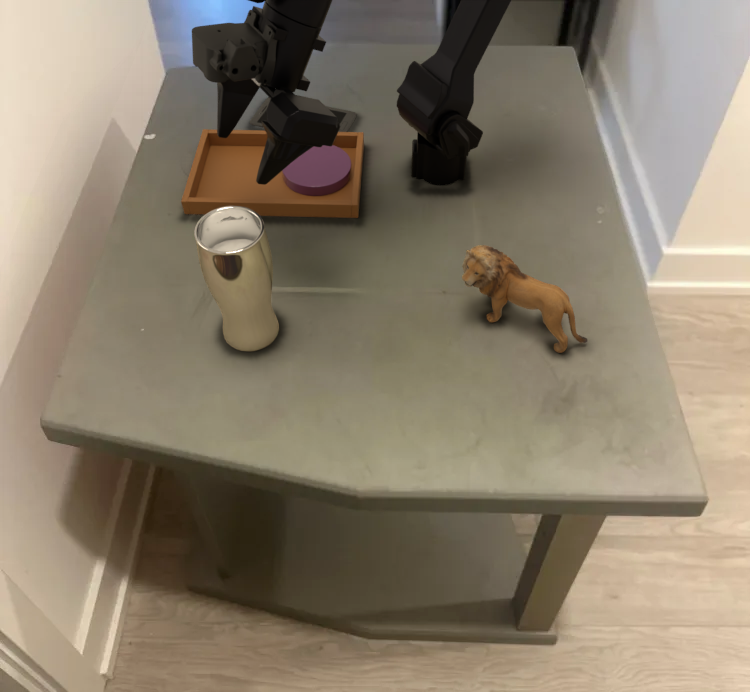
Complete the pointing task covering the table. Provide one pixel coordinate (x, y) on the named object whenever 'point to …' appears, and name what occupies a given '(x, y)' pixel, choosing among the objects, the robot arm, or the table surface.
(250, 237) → the beer glass
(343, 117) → the cell phone
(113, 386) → the table surface
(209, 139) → the tray
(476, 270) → the lion figurine
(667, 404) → the table surface
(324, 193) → the plum disc
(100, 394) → the table surface
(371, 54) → the table surface
